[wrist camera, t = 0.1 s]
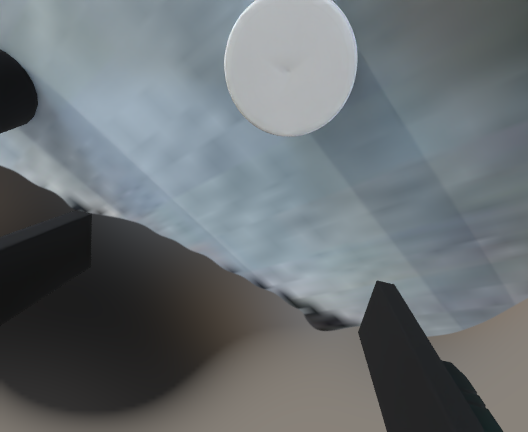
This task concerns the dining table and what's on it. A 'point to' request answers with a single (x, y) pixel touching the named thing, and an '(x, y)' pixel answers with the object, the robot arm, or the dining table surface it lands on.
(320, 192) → the dining table surface
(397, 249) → the dining table surface
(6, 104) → the coffee jar
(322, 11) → the supplement tub
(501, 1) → the dining table surface
